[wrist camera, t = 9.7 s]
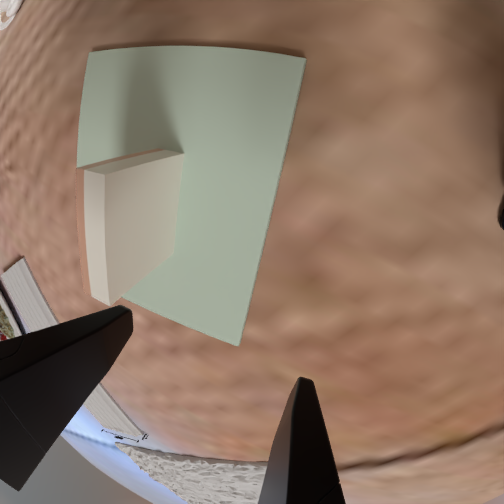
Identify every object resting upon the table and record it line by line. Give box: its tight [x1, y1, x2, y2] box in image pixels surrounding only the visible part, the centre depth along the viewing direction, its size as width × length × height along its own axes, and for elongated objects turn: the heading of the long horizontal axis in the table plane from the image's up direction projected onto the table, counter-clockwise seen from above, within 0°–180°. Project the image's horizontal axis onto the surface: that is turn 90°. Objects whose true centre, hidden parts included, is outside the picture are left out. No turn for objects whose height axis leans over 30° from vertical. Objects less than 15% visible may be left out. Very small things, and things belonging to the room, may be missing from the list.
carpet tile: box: [115, 442, 268, 504], centre depth 40 cm, size 39×30×2 cm
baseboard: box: [1, 257, 148, 442], centre depth 34 cm, size 31×3×12 cm
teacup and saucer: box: [0, 0, 23, 30], centre depth 14 cm, size 9×8×4 cm
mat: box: [77, 46, 307, 346], centre depth 19 cm, size 16×20×1 cm
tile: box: [76, 148, 185, 306], centre depth 16 cm, size 2×7×7 cm, turn 169°
